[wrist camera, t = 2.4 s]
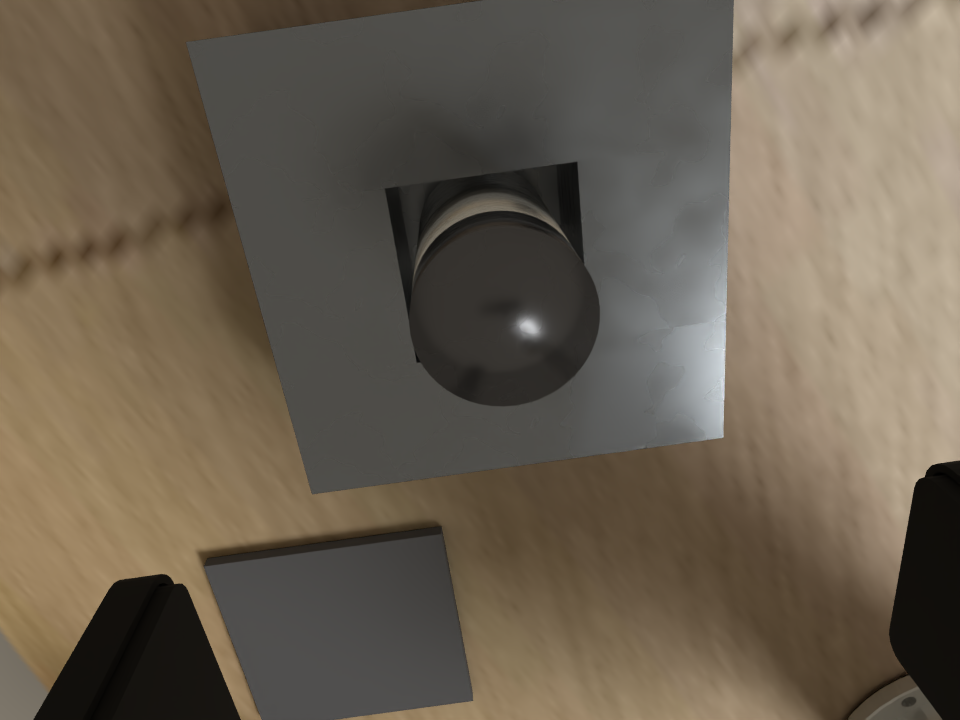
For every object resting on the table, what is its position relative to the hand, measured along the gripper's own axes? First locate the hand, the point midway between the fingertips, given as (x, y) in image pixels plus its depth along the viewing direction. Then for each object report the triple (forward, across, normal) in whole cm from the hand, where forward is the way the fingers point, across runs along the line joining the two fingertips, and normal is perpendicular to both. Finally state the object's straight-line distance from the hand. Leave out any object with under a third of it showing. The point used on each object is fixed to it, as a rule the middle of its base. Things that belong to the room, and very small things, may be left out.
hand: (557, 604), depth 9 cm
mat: (+22, +10, +22) cm, 32 cm away
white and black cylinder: (+21, 0, 0) cm, 21 cm away
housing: (+22, 0, +1) cm, 22 cm away
